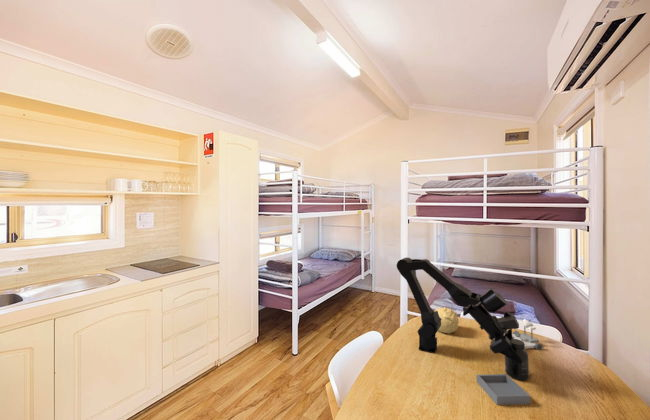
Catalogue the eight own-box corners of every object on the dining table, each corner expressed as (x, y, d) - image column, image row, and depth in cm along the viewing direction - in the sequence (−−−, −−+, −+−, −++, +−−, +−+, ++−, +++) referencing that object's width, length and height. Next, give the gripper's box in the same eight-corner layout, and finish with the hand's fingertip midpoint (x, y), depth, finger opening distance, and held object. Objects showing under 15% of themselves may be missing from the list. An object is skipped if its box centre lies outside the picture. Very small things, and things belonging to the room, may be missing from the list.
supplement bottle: (524, 371, 93) (524, 338, 93) (532, 383, 87) (532, 348, 87) (502, 367, 95) (501, 335, 95) (508, 379, 89) (508, 344, 89)
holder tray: (497, 404, 77) (497, 396, 77) (476, 382, 88) (476, 374, 88) (530, 404, 78) (530, 395, 78) (506, 381, 88) (506, 374, 88)
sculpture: (457, 338, 117) (457, 315, 117) (429, 332, 123) (429, 309, 123) (459, 328, 127) (459, 306, 127) (434, 323, 133) (433, 302, 133)
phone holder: (523, 315, 119) (548, 326, 108) (523, 336, 119) (548, 350, 108) (488, 318, 116) (510, 329, 105) (488, 339, 117) (510, 353, 105)
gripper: (501, 315, 86) (545, 360, 79) (503, 299, 101) (540, 335, 94) (474, 332, 90) (513, 375, 84) (480, 314, 105) (513, 350, 99)
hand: (521, 357), depth 90 cm, fingers closed on supplement bottle, 7 cm apart
